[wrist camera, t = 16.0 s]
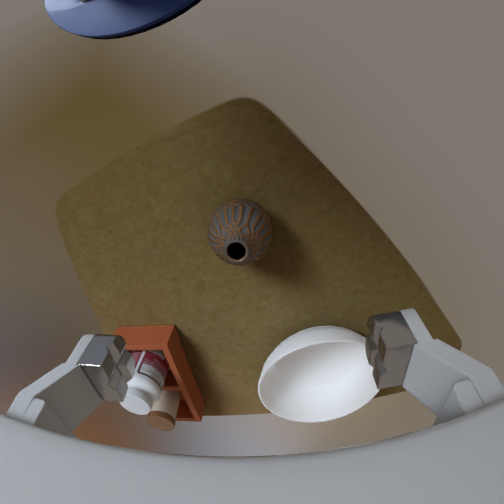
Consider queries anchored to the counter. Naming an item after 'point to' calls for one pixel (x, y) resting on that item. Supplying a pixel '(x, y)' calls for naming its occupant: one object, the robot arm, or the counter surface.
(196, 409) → the divided tray
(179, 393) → the spice jar
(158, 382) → the pill bottle
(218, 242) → the vase
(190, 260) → the counter surface
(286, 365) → the bowl
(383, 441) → the robot arm
